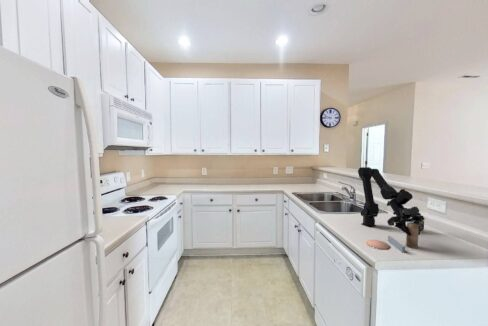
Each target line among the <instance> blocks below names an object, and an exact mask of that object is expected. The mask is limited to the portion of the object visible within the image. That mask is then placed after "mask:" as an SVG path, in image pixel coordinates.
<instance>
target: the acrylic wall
mask: <svg viewBox="0 0 488 326" xmlns="http://www.w3.org/2000/svg"><path fill="white" fill-rule="evenodd" d="M387 242H388V243H389V244H390V245H392V246H393V247H394V248H396V249H397V250H398V251H400V253H406V251H405V248H406V245H405V246H404V245H403V244H401V242H399V241H397V240H396V239H395V238H394V237H392V236H391V235H387Z"/></svg>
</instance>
